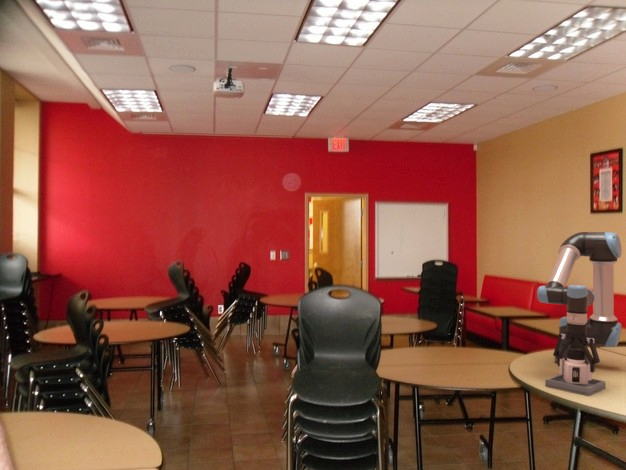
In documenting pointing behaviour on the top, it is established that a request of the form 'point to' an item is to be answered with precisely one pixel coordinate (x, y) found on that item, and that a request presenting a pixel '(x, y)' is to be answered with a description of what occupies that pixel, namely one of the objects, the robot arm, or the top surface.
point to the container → (575, 367)
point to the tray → (575, 385)
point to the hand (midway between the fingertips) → (575, 377)
